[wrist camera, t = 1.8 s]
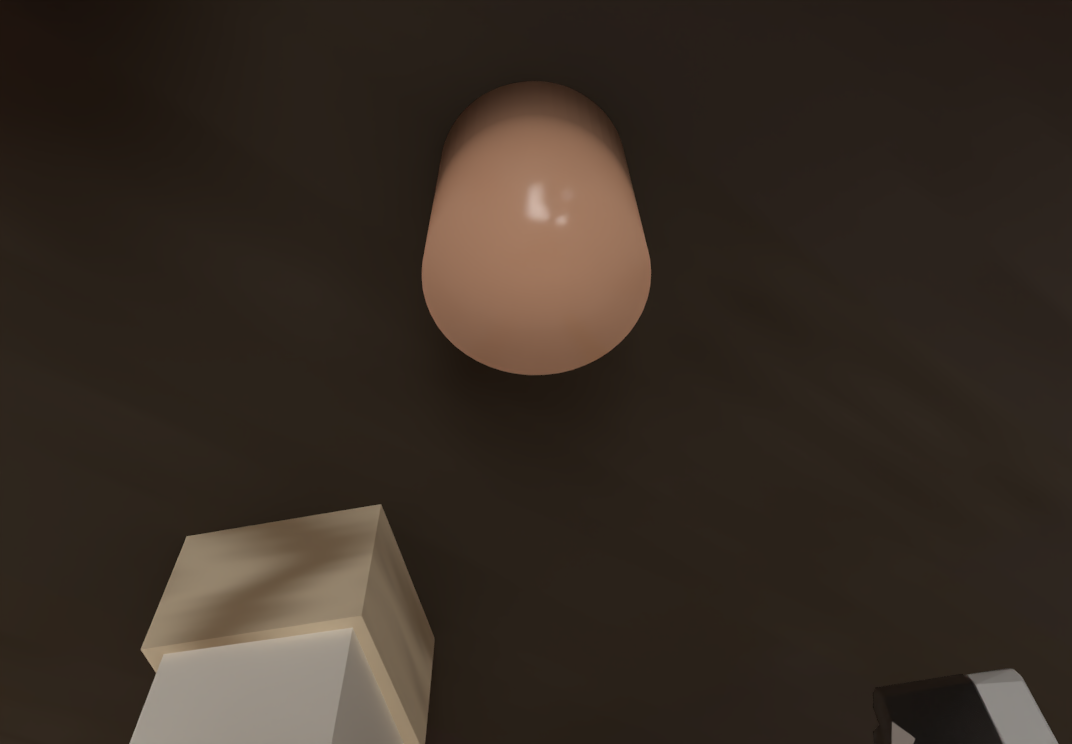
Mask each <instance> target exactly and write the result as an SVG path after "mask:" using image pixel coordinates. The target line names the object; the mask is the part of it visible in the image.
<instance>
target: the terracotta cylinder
mask: <svg viewBox="0 0 1072 744" xmlns="http://www.w3.org/2000/svg"><path fill="white" fill-rule="evenodd" d="M650 282H651V265H650V257H649V253H648V248H647V244H646V240H645V236H644V232H643V228H642V224H641V220H640V215H639V211H638V207H637V203H636V199H635V195H634V191H633V187H632V183H631V179H630V175H629V170H628V166H627V162H626V158H625V154H624V150H623V146H622V142H621V140H620V137H619V135H618V132H617V130H616V129H615V127H614V125H613V123H612V122H611V120H610V119H609V118H608V116H607V115H606V114H605V112H604V111H603V110H602V109H601V108H599V107H598V106H597V105H596V104H595V103H594V102H593V101H591V100H590V99H589V98H587V97H586V96H584V95H583V94H581V93H579V92H577V91H575V90H573V89H571V88H568V87H566V86H563V85H559V84H555V83H551V82H542V81H524V82H517V83H511V84H508V85H504V86H501V87H498V88H496V89H494V90H491V91H489V92H487V93H486V94H484V95H482V96H481V97H479V98H478V99H476V100H475V101H474V102H473V103H471V104H470V105H469V106H468V107H467V108H466V109H465V110H464V111H463V112H462V113H461V114H460V115H459V117H458V118H457V120H456V121H455V122H454V124H453V125H452V127H451V129H450V131H449V133H448V135H447V138H446V140H445V143H444V146H443V151H442V155H441V161H440V166H439V172H438V178H437V183H436V189H435V194H434V200H433V206H432V211H431V217H430V223H429V228H428V234H427V240H426V245H425V251H424V257H423V262H422V286H423V292H424V297H425V301H426V304H427V306H428V309H429V311H430V314H431V316H432V317H433V319H434V321H435V323H436V324H437V326H438V327H439V329H440V330H441V331H442V333H443V334H444V335H445V337H446V338H447V339H448V340H449V341H450V342H451V343H452V344H453V345H454V346H456V347H457V348H458V349H460V350H461V351H462V352H463V353H465V354H466V355H468V356H469V357H471V358H473V359H474V360H476V361H478V362H480V363H482V364H485V365H487V366H489V367H492V368H495V369H498V370H501V371H505V372H510V373H515V374H523V375H548V374H556V373H561V372H566V371H570V370H573V369H576V368H579V367H582V366H584V365H587V364H589V363H591V362H593V361H595V360H597V359H599V358H600V357H602V356H603V355H605V354H606V353H608V352H609V351H611V350H612V349H613V348H614V347H615V346H617V345H618V344H619V343H620V342H621V341H622V340H623V339H624V338H625V337H626V336H627V335H628V334H629V332H630V331H631V330H632V328H633V327H634V325H635V324H636V323H637V321H638V319H639V317H640V315H641V313H642V312H643V309H644V307H645V304H646V301H647V298H648V294H649V289H650Z"/></svg>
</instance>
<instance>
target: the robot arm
mask: <svg viewBox="0 0 1072 744" xmlns="http://www.w3.org/2000/svg"><path fill="white" fill-rule="evenodd" d="M873 709H874V712H875V715H876V718H877V720H878V723H879V726H878V727H877V728H876V729H875V730H874V731H873V742H874V744H1058V742H1057V740H1056V739H1055V737H1054V735H1053V733H1052V731H1051V729H1050V728H1049V726H1048V724H1047V722H1046V720H1045V718H1044V716H1043V715H1042V713H1041V711H1040V709H1039V707H1038V705H1037V704H1036V702H1035V700H1034V698H1033V696H1032V694H1031V693H1030V691H1029V689H1028V687H1027V685H1026V683H1025V681H1024V680H1023V678H1022V676H1021V675H1020V674H1018V673H1017V672H1016V671H1015V670H1014V669H1011V668H1004V669H998V670H992V671H986V672H980V673H974V674H968V675H963V674H957V675H951V676H944V677H938V678H932V679H926V680H919V681H913V682H907V683H900V684H894V685H888V686H881V687H875V690H874V692H873Z"/></svg>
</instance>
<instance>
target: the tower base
mask: <svg viewBox="0 0 1072 744" xmlns="http://www.w3.org/2000/svg"><path fill="white" fill-rule="evenodd" d="M352 627H353V629H354V631H355V634H356V636H357V638H358V640H359V643H360V645H361V647H362V649H363V652H364V654H365V656H366V658H367V661H368V663H369V665H370V668H371V670H372V672H373V674H374V677H375V679H376V681H377V683H378V686H379V688H380V690H381V692H382V695H383V697H384V699H385V702H386V704H387V706H388V708H389V711H390V713H391V715H392V717H393V720H394V722H395V724H396V726H397V729H398V731H399V733H400V736H401V738H402V740H403V742H404V744H425V739H426V728H427V718H428V707H429V696H430V685H431V674H432V663H433V653H434V642H435V638H434V636H433V633H432V631H431V628H430V626H429V623H428V621H427V618H426V616H425V613H424V611H423V608H422V606H421V603H420V601H419V598H418V595H417V593H416V590H415V588H414V585H413V583H412V580H411V578H410V575H409V573H408V570H407V568H406V565H405V563H404V560H403V558H402V555H401V553H400V550H399V548H398V545H397V543H396V540H395V538H394V535H393V533H392V530H391V528H390V525H389V523H388V520H387V518H386V515H385V512H384V510H383V507H382V505H381V504H379V505H373V506H367V507H361V508H355V509H349V510H343V511H337V512H331V513H325V514H319V515H313V516H307V517H301V518H295V519H289V520H283V521H277V522H271V523H265V524H259V525H253V526H246V527H240V528H234V529H228V530H222V531H216V532H210V533H204V534H198V535H192V536H187V537H186V539H185V542H184V544H183V547H182V549H181V552H180V554H179V557H178V559H177V562H176V564H175V566H174V569H173V571H172V574H171V576H170V579H169V581H168V584H167V586H166V589H165V591H164V593H163V596H162V598H161V601H160V603H159V606H158V608H157V611H156V613H155V615H154V618H153V620H152V623H151V625H150V628H149V630H148V633H147V635H146V638H145V640H144V642H143V645H142V647H141V651H142V652H143V654H144V655H145V657H146V658H147V660H148V661H149V663H150V664H151V666H152V667H153V669H154V670H155V672H156V673H157V670H158V668H159V665H160V662H161V660H162V657H163V654H168V653H176V652H183V651H190V650H197V649H204V648H211V647H218V646H225V645H232V644H239V643H246V642H253V641H260V640H268V639H275V638H282V637H289V636H296V635H303V634H310V633H317V632H324V631H331V630H338V629H345V628H352Z"/></svg>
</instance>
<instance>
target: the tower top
mask: <svg viewBox="0 0 1072 744" xmlns="http://www.w3.org/2000/svg"><path fill="white" fill-rule="evenodd" d="M130 744H404V742H403V740H402V738H401V736H400V733H399V731H398V729H397V726H396V724H395V722H394V720H393V717H392V715H391V713H390V711H389V708H388V706H387V704H386V702H385V699H384V697H383V695H382V692H381V690H380V688H379V686H378V683H377V681H376V679H375V677H374V674H373V672H372V670H371V668H370V665H369V663H368V661H367V658H366V656H365V654H364V652H363V649H362V647H361V645H360V643H359V640H358V638H357V636H356V634H355V631H354V629H353V627H352V628H345V629H338V630H331V631H324V632H317V633H310V634H303V635H296V636H289V637H282V638H275V639H268V640H260V641H253V642H246V643H239V644H232V645H225V646H218V647H211V648H204V649H197V650H190V651H183V652H176V653H168V654H163V657H162V660H161V662H160V665H159V668H158V670H157V673H156V675H155V678H154V681H153V683H152V686H151V688H150V691H149V694H148V696H147V699H146V702H145V704H144V707H143V709H142V712H141V715H140V717H139V720H138V723H137V725H136V728H135V730H134V733H133V736H132V738H131V741H130Z"/></svg>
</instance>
